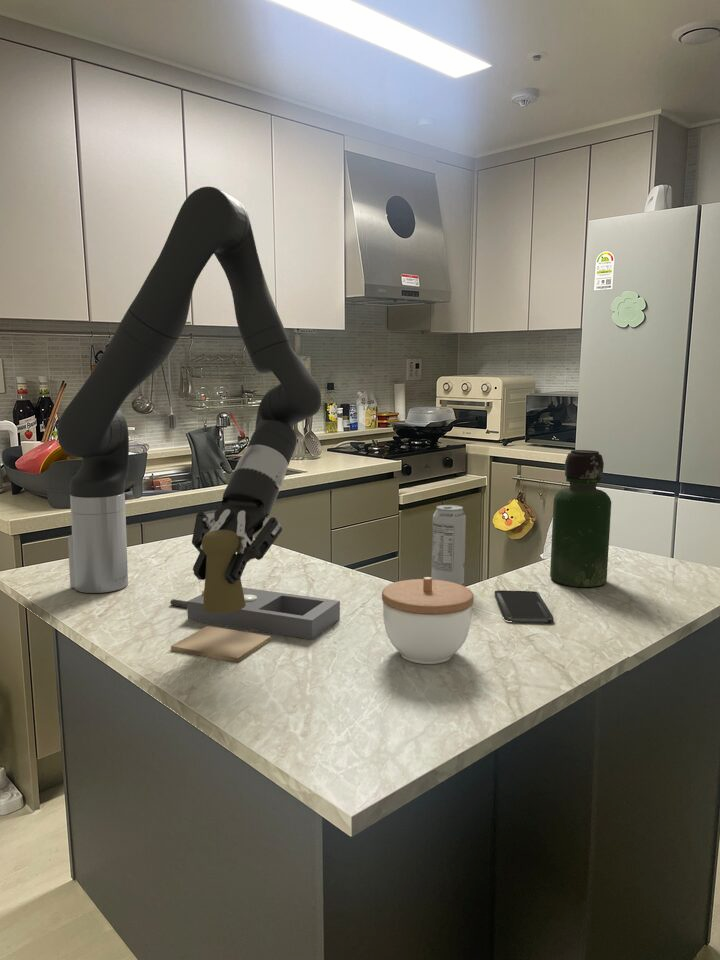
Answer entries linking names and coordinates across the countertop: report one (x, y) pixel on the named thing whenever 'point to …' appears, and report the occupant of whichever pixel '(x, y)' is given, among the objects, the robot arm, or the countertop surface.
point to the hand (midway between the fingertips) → (214, 578)
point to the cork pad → (221, 643)
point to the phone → (523, 607)
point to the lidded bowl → (427, 618)
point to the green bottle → (581, 524)
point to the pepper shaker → (221, 573)
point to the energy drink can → (448, 544)
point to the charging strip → (271, 613)
